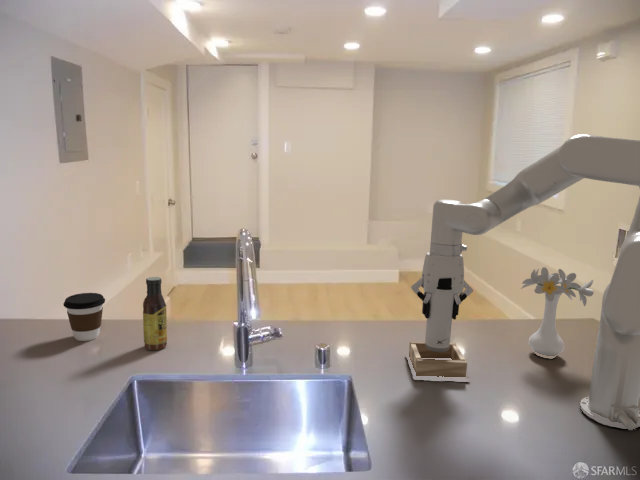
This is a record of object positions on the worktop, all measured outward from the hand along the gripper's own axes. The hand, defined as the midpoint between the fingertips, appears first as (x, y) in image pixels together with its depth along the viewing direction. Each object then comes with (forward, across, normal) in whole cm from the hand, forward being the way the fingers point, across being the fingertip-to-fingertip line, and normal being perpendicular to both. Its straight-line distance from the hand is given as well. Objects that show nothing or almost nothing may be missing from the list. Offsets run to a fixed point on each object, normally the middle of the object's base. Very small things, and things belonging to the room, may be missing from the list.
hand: (439, 316), depth 130 cm
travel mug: (+9, 0, 0) cm, 9 cm away
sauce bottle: (+15, +77, -8) cm, 79 cm away
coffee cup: (+15, +99, -13) cm, 101 cm away
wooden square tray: (+15, 0, 0) cm, 15 cm away
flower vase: (+15, -34, -12) cm, 39 cm away
